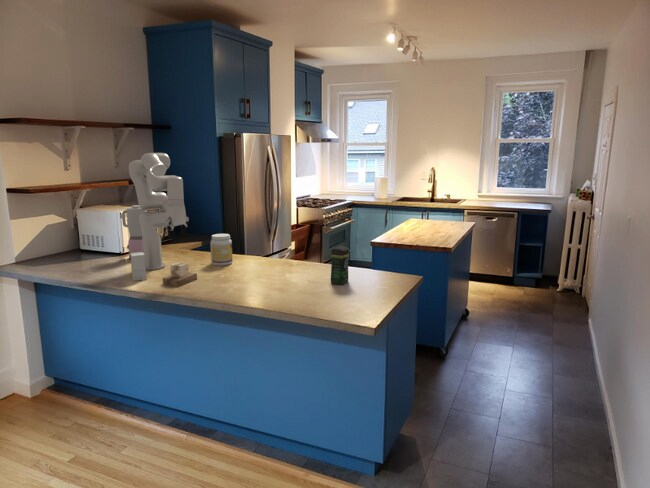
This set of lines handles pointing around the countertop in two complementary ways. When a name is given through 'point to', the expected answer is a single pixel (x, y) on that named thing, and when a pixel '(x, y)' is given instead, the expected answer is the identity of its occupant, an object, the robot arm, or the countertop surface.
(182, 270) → the maple cube
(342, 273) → the coffee jar
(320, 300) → the countertop surface
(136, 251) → the blender
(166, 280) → the walnut board
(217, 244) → the supplement tub
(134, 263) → the small box
